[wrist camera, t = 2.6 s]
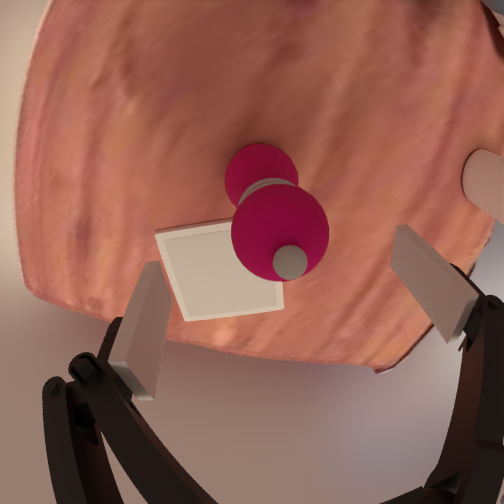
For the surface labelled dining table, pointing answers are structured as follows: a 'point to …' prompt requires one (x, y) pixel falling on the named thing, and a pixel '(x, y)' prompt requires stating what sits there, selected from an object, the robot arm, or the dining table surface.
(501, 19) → the white sculpture
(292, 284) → the dining table surface
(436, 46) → the dining table surface
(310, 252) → the pepper mill
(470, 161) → the mug
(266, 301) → the plate
